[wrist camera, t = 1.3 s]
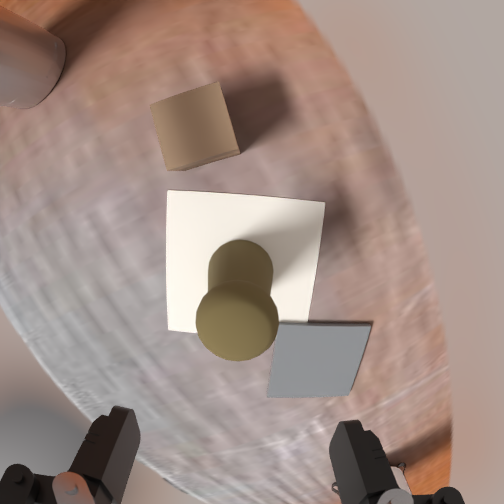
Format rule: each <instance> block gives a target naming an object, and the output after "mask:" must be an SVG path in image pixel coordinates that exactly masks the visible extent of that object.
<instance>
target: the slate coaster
mask: <svg viewBox="0 0 504 504" xmlns="http://www.w3.org/2000/svg"><path fill="white" fill-rule="evenodd" d="M370 329H371V325H370V324H330V323H290V322H279V327H278V332H277V335H276V338H275V344H274V351H273V357H272V364H271V370H270V377H269V383H268V389H267V397H275V398H305V397H333V396H348V395H349V393H350V390H351V387H352V384H353V382H354V379H355V376H356V373H357V370H358V367H359V364H360V361H361V358H362V355H363V352H364V349H365V346H366V342H367V339H368V336H369V332H370Z"/></svg>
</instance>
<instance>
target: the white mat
mask: <svg viewBox="0 0 504 504" xmlns="http://www.w3.org/2000/svg"><path fill="white" fill-rule="evenodd" d="M324 210H325V202H317V201H308V200H299V199H289V198H279V197H268V196H256V195H243V194H229V193H214V192H196V191H175V190H168V194H167V224H166V282H167V313H168V330H174V331H183V332H192V333H198V332H197V329H196V324H195V321H196V311H197V308H198V306H199V304H200V302H201V300H202V298H203V296H204V295H205V294H206V293H207V292H208V266H209V261H210V259H211V257H212V255H213V253H214V252H215V251H216V250H217V249H218V248H219V247H220V246H221V245H223V244H225V243H227V242H229V241H234V240H247V241H252V242H254V243H256V244H258V245H260V246H261V247H262V248H263V249H264V250H265V251H266V252H267V253H268V255H269V257H270V259H271V260H272V264H273V271H274V272H273V280H272V287H271V294H270V296H271V297H272V299H273V301H274V303H275V305H276V307H277V310H278V316H279V322H290V323H307V321H308V316H309V310H310V305H311V299H312V293H313V287H314V281H315V275H316V268H317V262H318V255H319V248H320V241H321V234H322V226H323V218H324Z"/></svg>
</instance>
